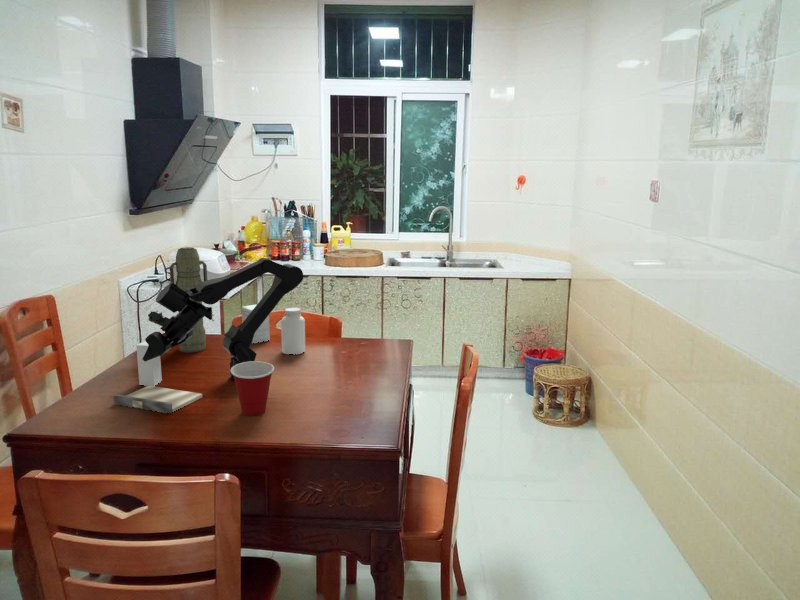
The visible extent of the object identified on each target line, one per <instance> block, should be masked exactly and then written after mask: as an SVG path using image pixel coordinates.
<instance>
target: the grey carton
mask: <svg viewBox="0 0 800 600" xmlns="http://www.w3.org/2000/svg"><path fill="white" fill-rule="evenodd" d="M147 349H148V344H147V342H146V341H145V340H143V341H141V342H140V343H137V344H136V361H137V373H138V383H139V385H144V386H143V387H147V386H155V385H156V386H157V385H159V384H160V383H162V382H163V379H162V378H163V377H162V365H161V364H162V363H161V356H158V357H156V358H153V359H151V360H148V361H146V362H145V361H144V360H143V357H144V355H145V353H146V351H147ZM161 381H162V382H161ZM158 383H159V384H158ZM156 386H155V387H156Z"/></svg>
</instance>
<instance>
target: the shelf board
mask: <svg viewBox="0 0 800 600" xmlns="http://www.w3.org/2000/svg"><path fill="white" fill-rule="evenodd" d="M202 398H203V393H199V392H195V391H187V390H179V389H173V388H167V387H162V386H161V387H160V386H144V387H143V388H140V389H137V390H136V391H134V392H131V393H128V394H126V395H123V394H117V393H116V394H114V395H113V405H114V404H115V406H120V405H122V407H126V406H128V408H132V407H134V408H133V409H138V408H140V409H139V410H143V409H145V411H149V410H152V411H151V412H155V411H157V412H156V413H161V412H162V413H163V414H167V413H169V414H168V415H171V414H173V413H175V412H177V411H178V409H179V410H181V409H183V408H184V406H185V407H186V406H188V405H190V404H192V403H194V402H196V401H199V400H200V399H202ZM180 408H181V409H180ZM176 410H177V411H176ZM174 411H175V412H174ZM172 412H173V413H172ZM170 413H171V414H170Z"/></svg>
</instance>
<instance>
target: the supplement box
mask: <svg viewBox="0 0 800 600" xmlns="http://www.w3.org/2000/svg"><path fill="white" fill-rule="evenodd" d="M257 304H258V303H257ZM257 304H252V305H243V306H241V324H242V323H243V322H244V321H245V319H246V318H247V317H248V316H249V314H250V313H251V312H252V310H253V309H254V308H255V307H256V305H257ZM270 335H271V334H270V314H269V315H268V317H267V318H266V319H265V320H264V322H263V323H262V324H261V325H260V327H259V328H258V329H257V331H256V332H255V334H254V337H253V341H252V344H251V345H253V343H254V344H258V342H259V343H263V341H264V342H269V341H271V336H270ZM268 340H269V341H268Z"/></svg>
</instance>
